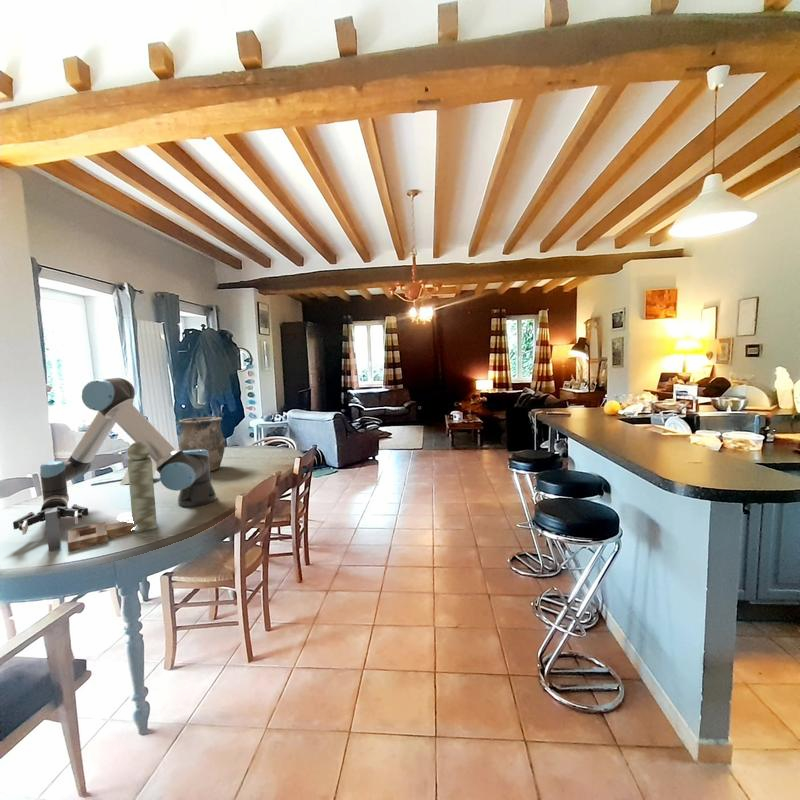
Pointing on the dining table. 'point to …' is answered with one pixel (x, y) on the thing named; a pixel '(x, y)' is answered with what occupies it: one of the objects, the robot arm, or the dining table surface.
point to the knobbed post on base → (140, 504)
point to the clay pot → (203, 438)
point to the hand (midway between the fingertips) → (50, 525)
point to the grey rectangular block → (52, 529)
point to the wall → (126, 476)
